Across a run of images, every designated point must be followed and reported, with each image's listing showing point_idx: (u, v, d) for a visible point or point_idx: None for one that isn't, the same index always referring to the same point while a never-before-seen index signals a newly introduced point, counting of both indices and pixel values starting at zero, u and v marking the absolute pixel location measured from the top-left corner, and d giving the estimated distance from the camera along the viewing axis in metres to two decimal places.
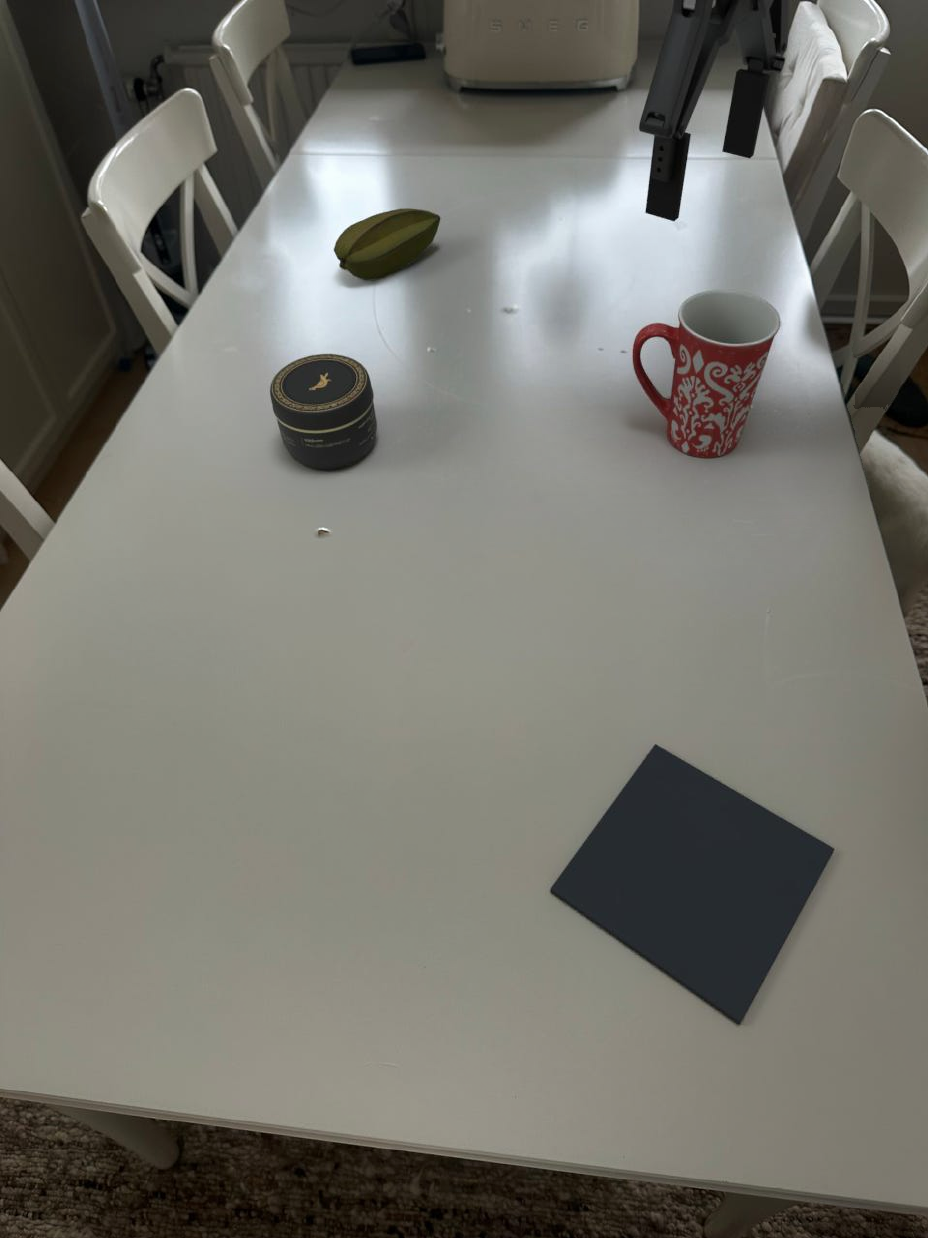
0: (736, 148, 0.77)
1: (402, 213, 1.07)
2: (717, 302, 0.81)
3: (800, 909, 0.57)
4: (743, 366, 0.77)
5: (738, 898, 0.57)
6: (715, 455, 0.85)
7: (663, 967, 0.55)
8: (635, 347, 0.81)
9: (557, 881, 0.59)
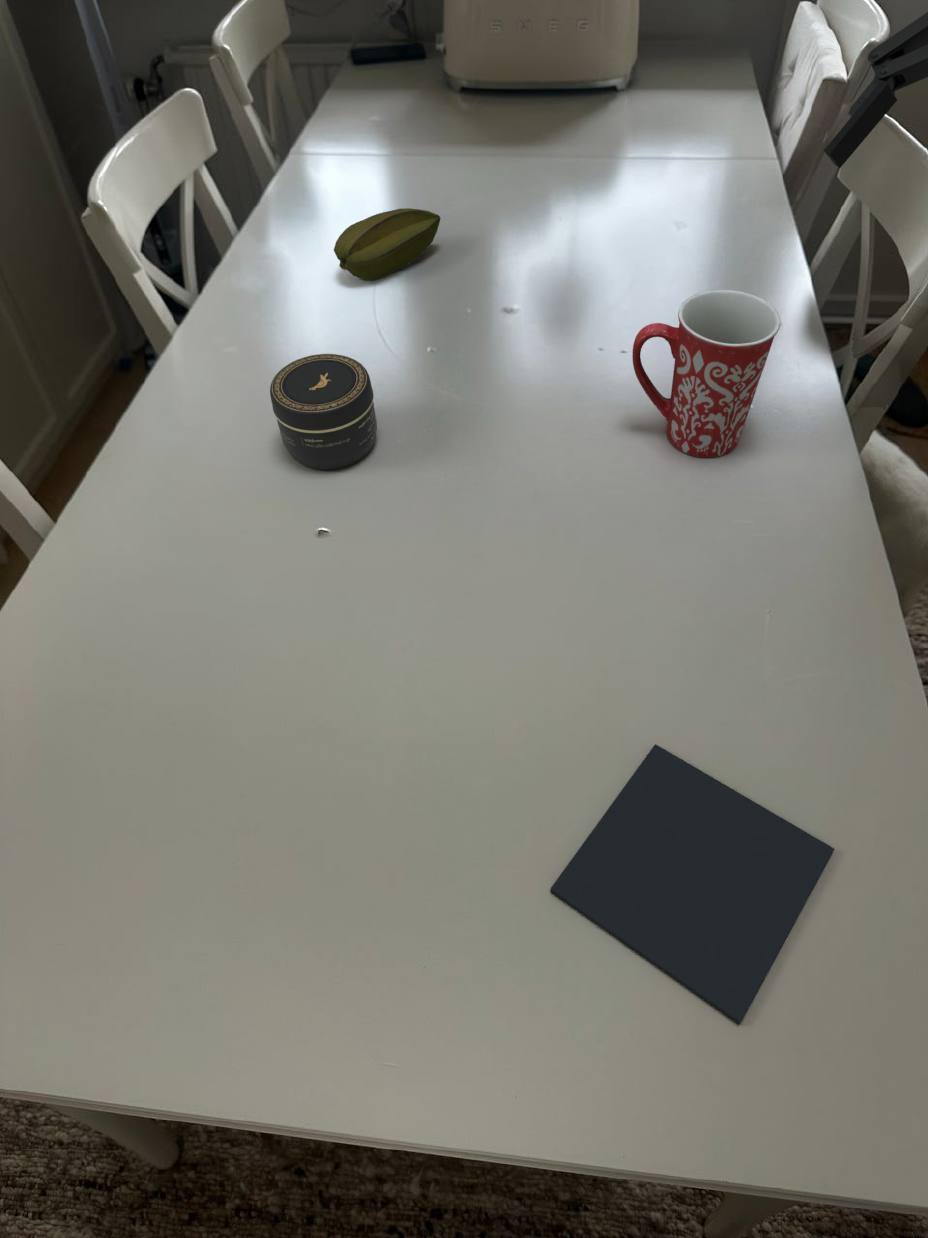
0: None
1: (402, 213, 1.07)
2: (717, 302, 0.81)
3: (800, 909, 0.57)
4: (743, 366, 0.77)
5: (738, 898, 0.57)
6: (715, 455, 0.85)
7: (663, 967, 0.55)
8: (635, 347, 0.81)
9: (557, 881, 0.59)
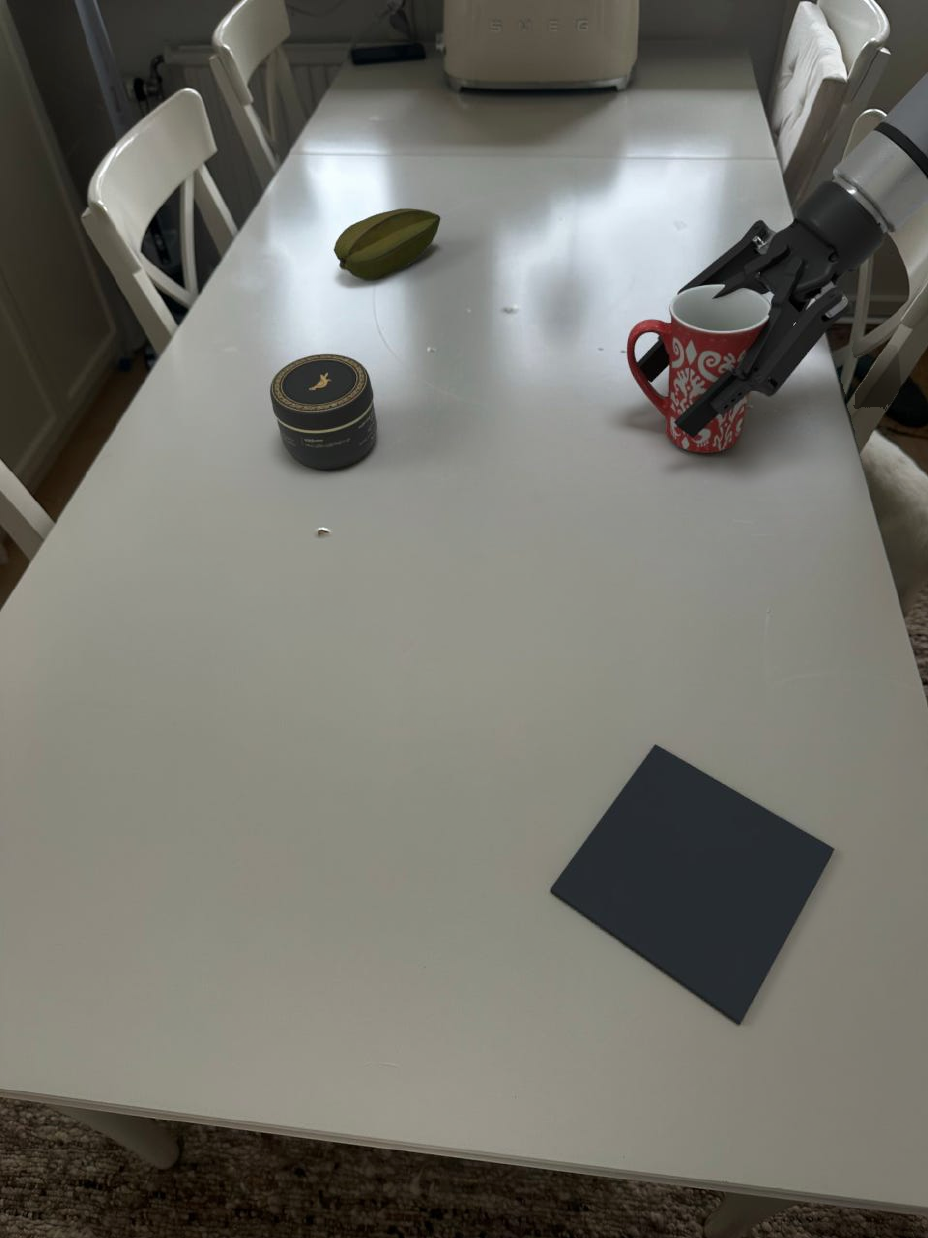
0: None
1: (402, 213, 1.07)
2: (708, 296, 0.81)
3: (800, 909, 0.57)
4: (736, 354, 0.77)
5: (738, 898, 0.57)
6: (716, 450, 0.85)
7: (663, 967, 0.55)
8: (629, 344, 0.81)
9: (557, 881, 0.59)
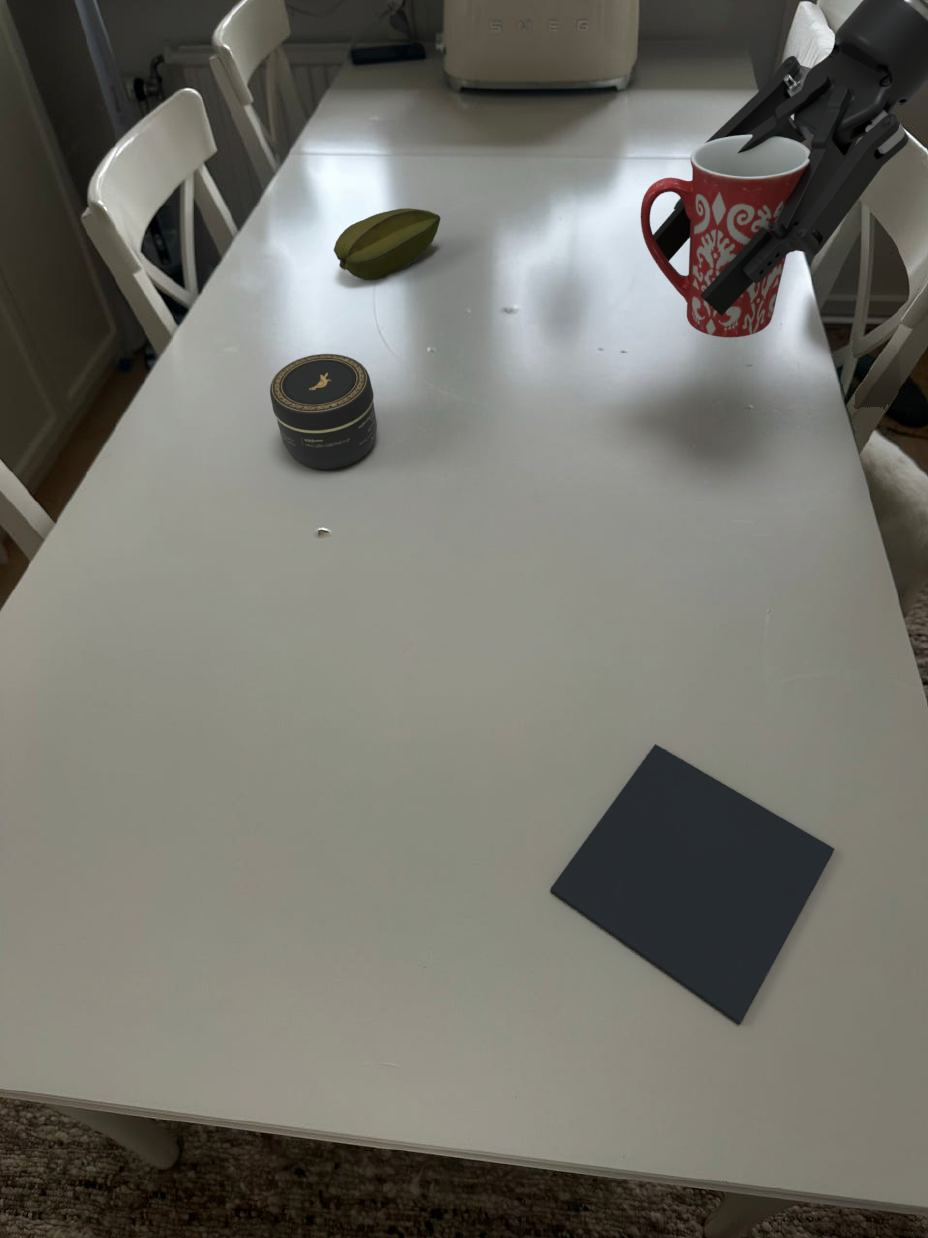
0: None
1: (402, 213, 1.07)
2: (733, 150, 0.70)
3: (800, 909, 0.57)
4: (772, 207, 0.65)
5: (738, 898, 0.57)
6: (746, 333, 0.73)
7: (663, 967, 0.55)
8: (643, 208, 0.70)
9: (557, 881, 0.59)
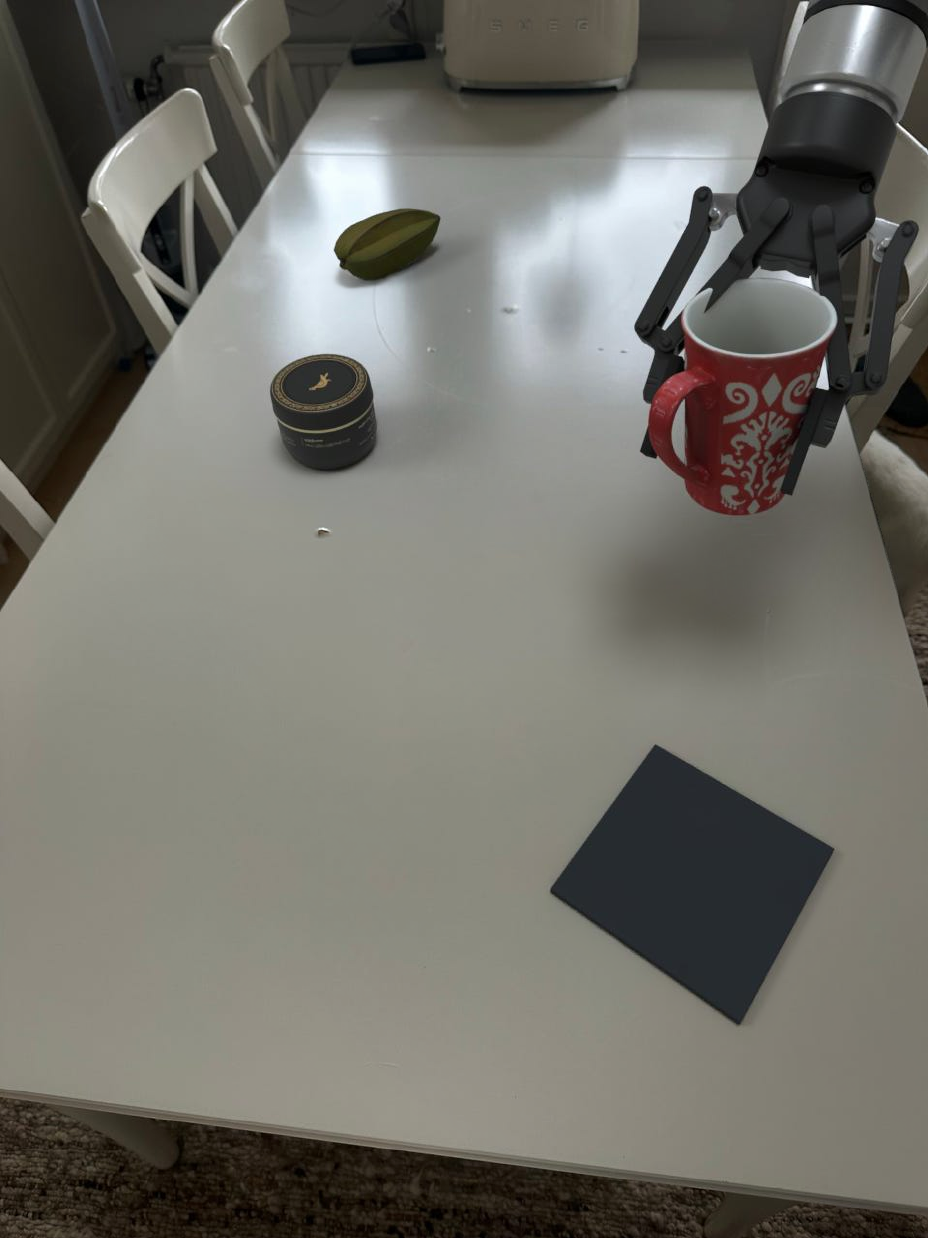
0: None
1: (402, 213, 1.07)
2: (700, 312, 0.55)
3: (800, 909, 0.57)
4: (822, 363, 0.53)
5: (738, 898, 0.57)
6: (784, 494, 0.61)
7: (663, 967, 0.55)
8: (667, 423, 0.53)
9: (557, 881, 0.59)
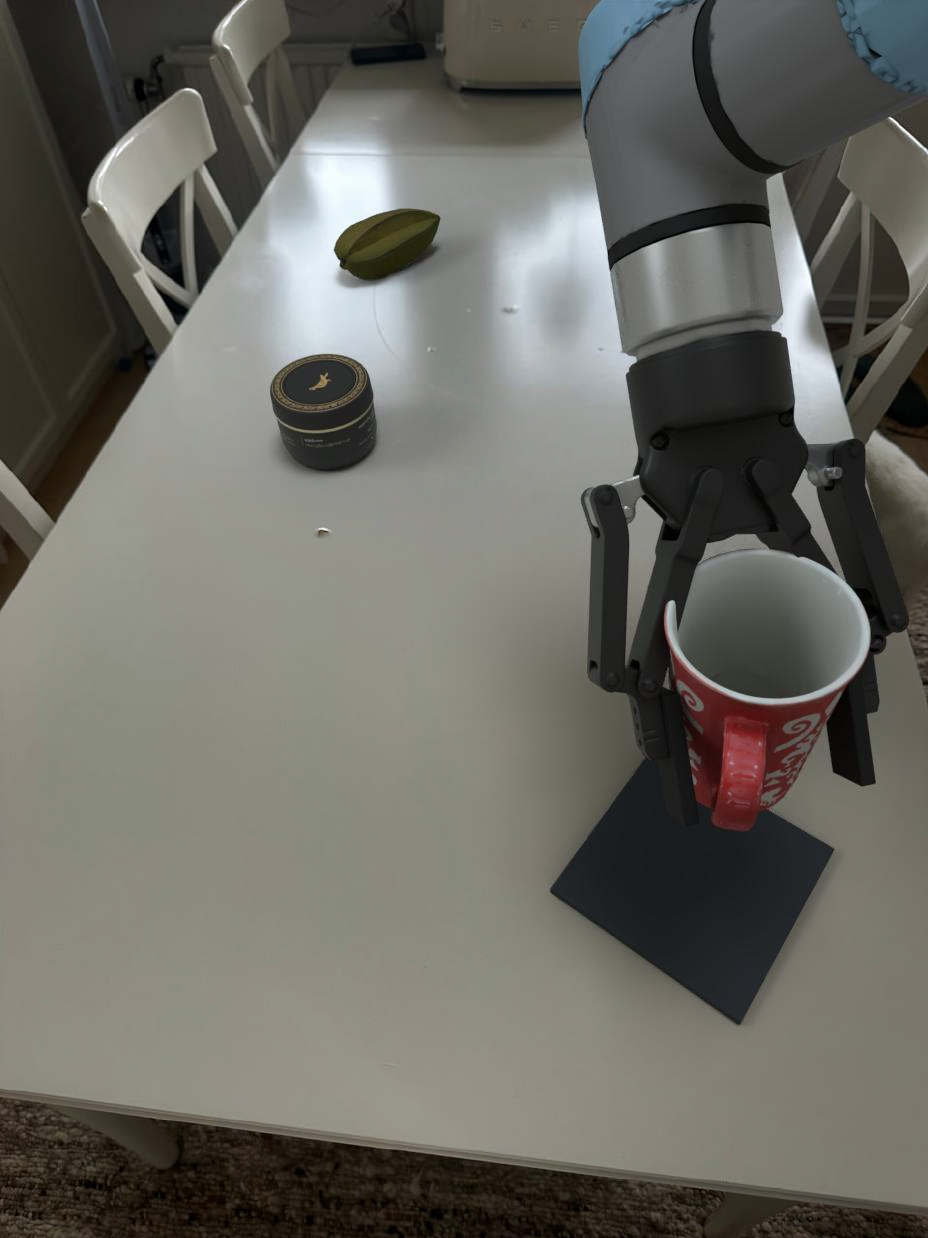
0: (844, 769, 0.44)
1: (402, 213, 1.07)
2: (677, 636, 0.41)
3: (800, 909, 0.57)
4: None
5: (738, 898, 0.57)
6: None
7: (663, 967, 0.55)
8: (755, 812, 0.38)
9: (557, 881, 0.59)
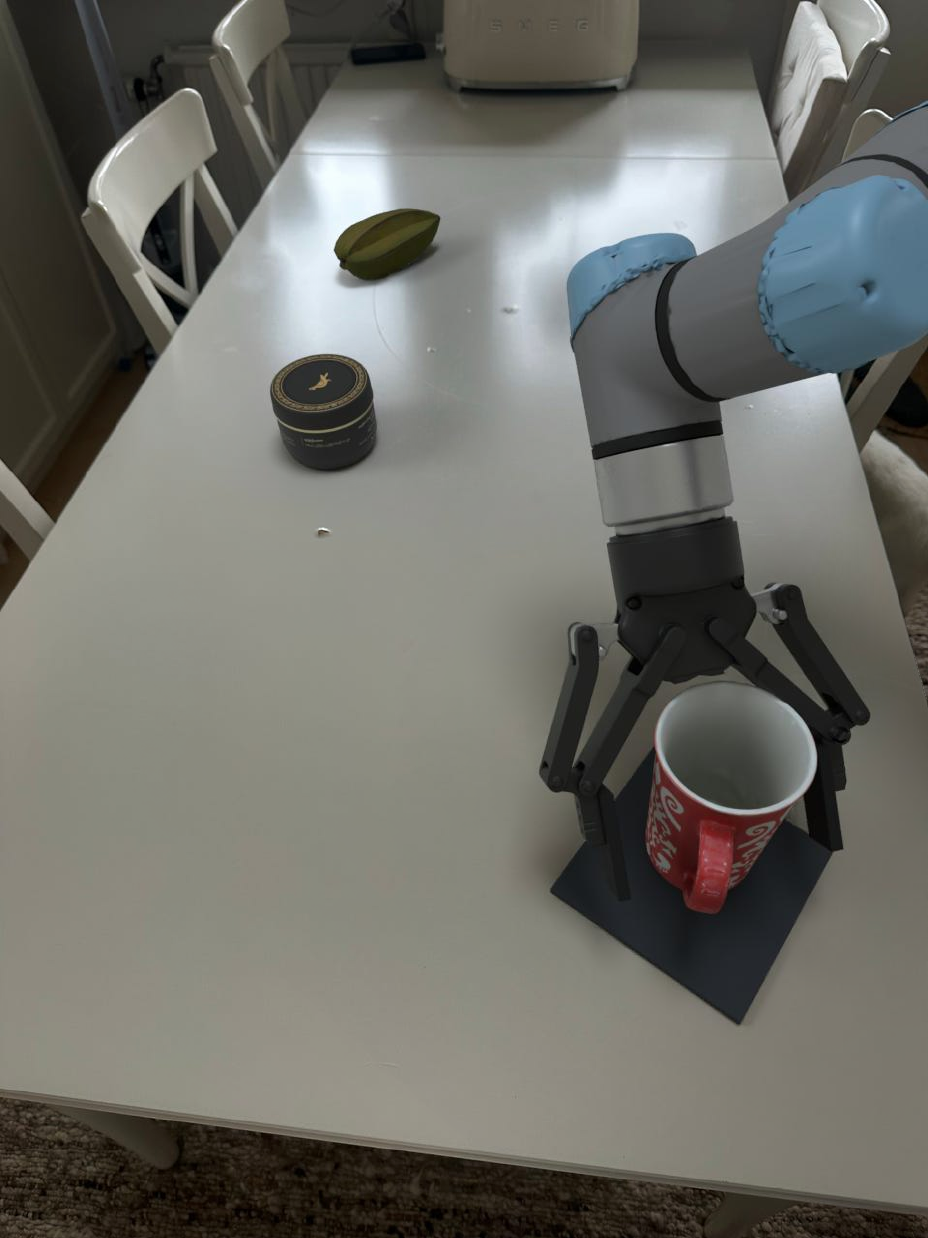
0: (818, 836, 0.53)
1: (402, 213, 1.07)
2: (664, 751, 0.50)
3: (800, 909, 0.57)
4: None
5: (738, 898, 0.57)
6: None
7: (663, 967, 0.55)
8: (722, 900, 0.47)
9: (557, 881, 0.59)
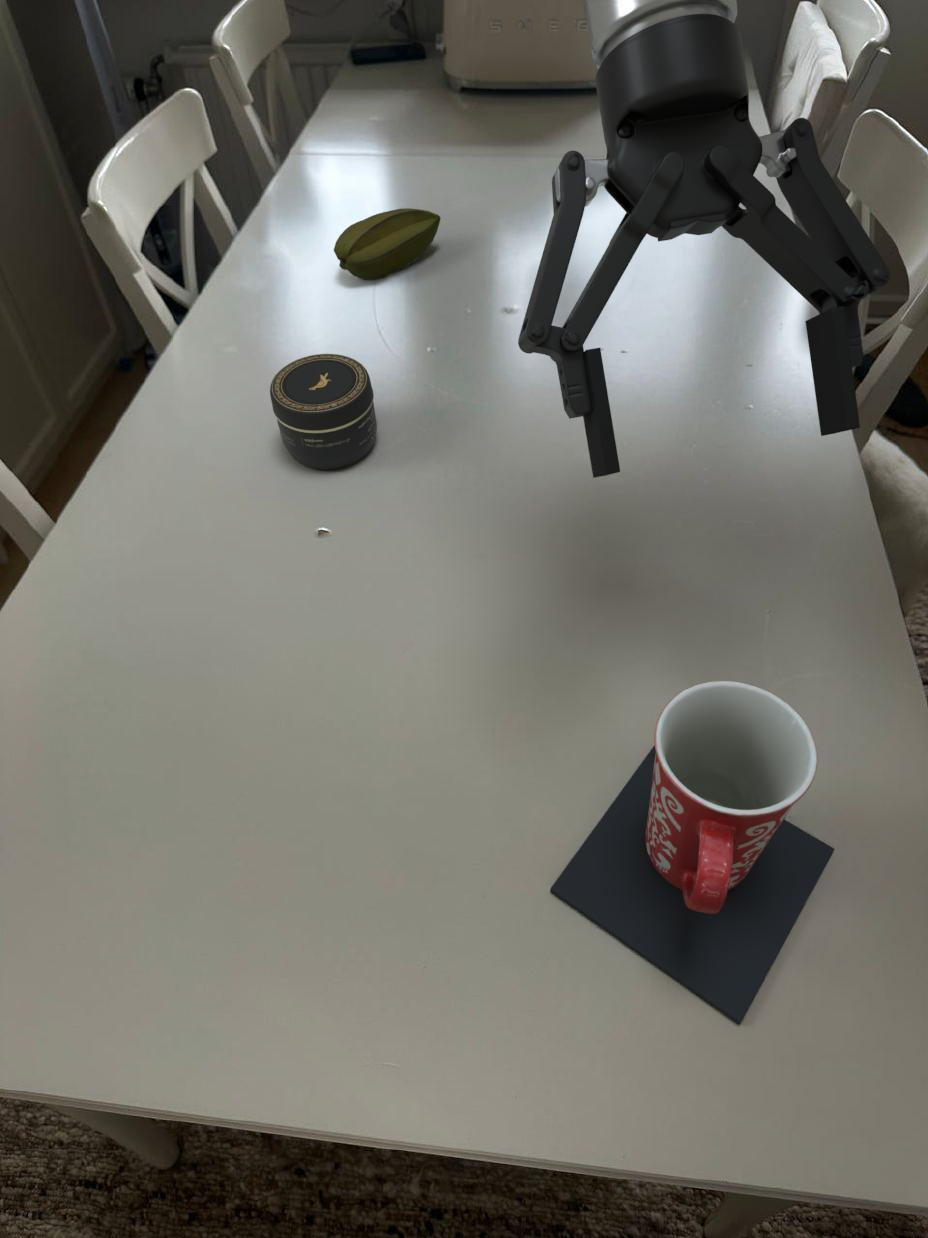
0: (831, 423, 0.48)
1: (402, 213, 1.07)
2: (664, 751, 0.50)
3: (800, 909, 0.57)
4: None
5: (738, 898, 0.57)
6: None
7: (663, 967, 0.55)
8: (722, 900, 0.47)
9: (557, 881, 0.59)
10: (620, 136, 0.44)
